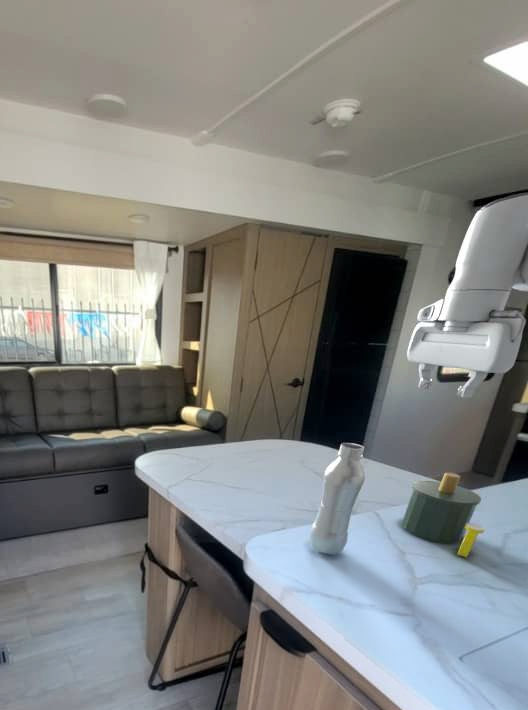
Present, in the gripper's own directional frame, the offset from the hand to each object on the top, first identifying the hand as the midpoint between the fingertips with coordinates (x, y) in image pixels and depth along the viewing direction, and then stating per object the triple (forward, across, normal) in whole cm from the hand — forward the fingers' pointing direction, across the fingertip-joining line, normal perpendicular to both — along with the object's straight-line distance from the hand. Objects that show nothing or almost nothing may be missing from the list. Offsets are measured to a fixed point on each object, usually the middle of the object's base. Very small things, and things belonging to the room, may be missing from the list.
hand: (442, 392), depth 76 cm
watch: (+28, -14, -3) cm, 31 cm away
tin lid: (+19, -4, -4) cm, 20 cm away
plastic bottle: (+28, -10, +23) cm, 37 cm away
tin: (+28, -4, -4) cm, 28 cm away
